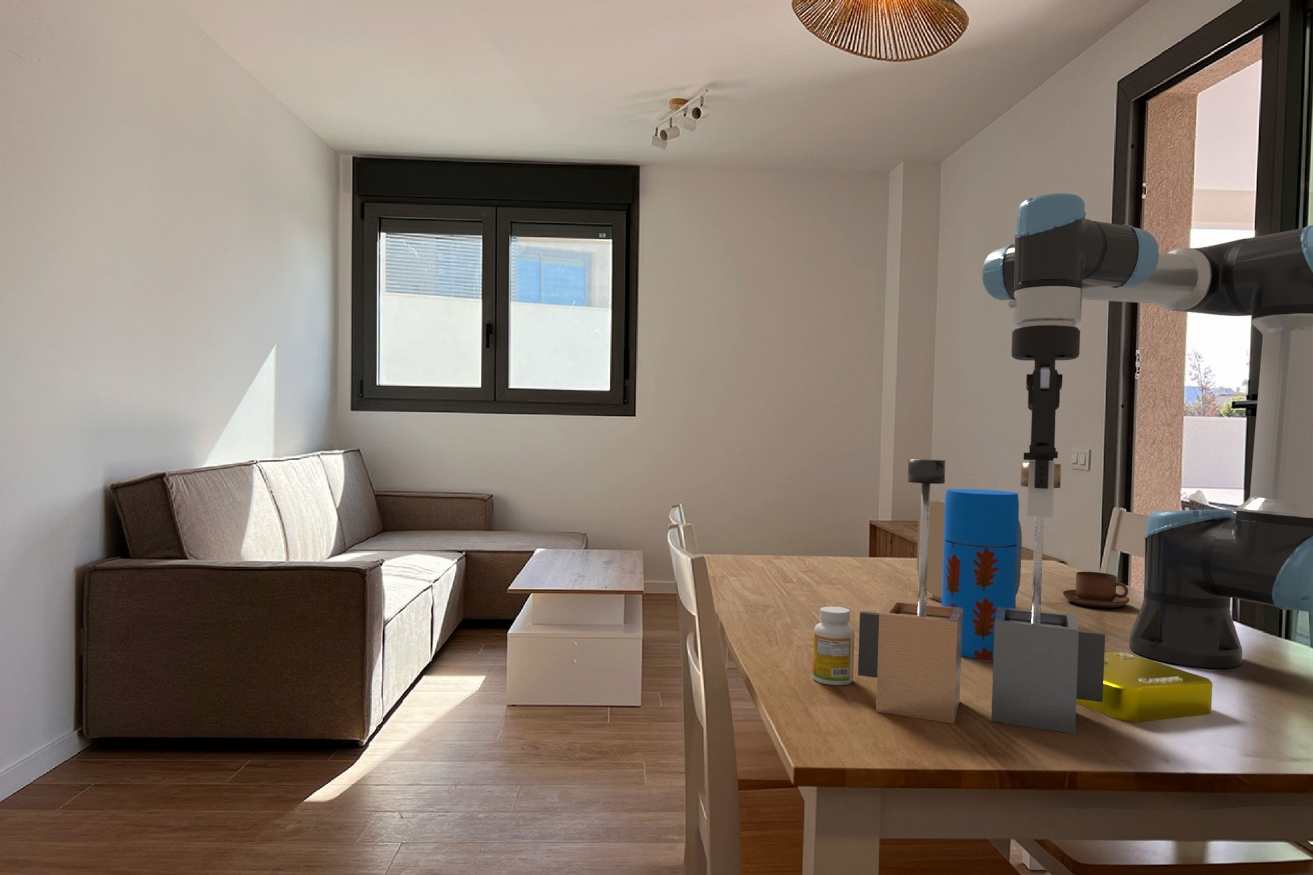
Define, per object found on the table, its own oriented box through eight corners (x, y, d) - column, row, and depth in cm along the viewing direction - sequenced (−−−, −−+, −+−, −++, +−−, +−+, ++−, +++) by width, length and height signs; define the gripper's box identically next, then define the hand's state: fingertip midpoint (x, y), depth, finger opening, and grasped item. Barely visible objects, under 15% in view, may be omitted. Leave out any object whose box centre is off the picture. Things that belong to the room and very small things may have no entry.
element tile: (1126, 725, 103) (1128, 686, 103) (1034, 688, 117) (1036, 653, 117) (1219, 715, 108) (1220, 677, 108) (1120, 680, 122) (1121, 646, 122)
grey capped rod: (948, 624, 109) (954, 460, 108) (944, 634, 103) (950, 461, 103) (899, 619, 111) (905, 458, 111) (893, 628, 106) (898, 459, 105)
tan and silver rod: (1061, 631, 106) (1067, 463, 106) (1063, 642, 101) (1069, 465, 100) (1009, 626, 109) (1014, 461, 108) (1008, 636, 103) (1013, 463, 103)
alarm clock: (1020, 614, 163) (1024, 500, 162) (977, 616, 160) (981, 500, 160) (955, 592, 182) (959, 491, 182) (915, 594, 180) (919, 491, 179)
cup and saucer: (1130, 604, 176) (1131, 574, 176) (1126, 614, 166) (1128, 582, 166) (1066, 596, 183) (1067, 567, 183) (1058, 605, 173) (1059, 575, 172)
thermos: (1020, 661, 129) (1025, 495, 129) (945, 656, 131) (950, 492, 131) (1005, 643, 140) (1011, 490, 139) (936, 638, 142) (941, 487, 142)
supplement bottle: (824, 671, 121) (826, 603, 121) (859, 679, 118) (862, 609, 118) (805, 680, 117) (807, 609, 117) (841, 688, 114) (843, 615, 114)
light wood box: (959, 701, 110) (962, 607, 110) (953, 723, 101) (957, 622, 101) (864, 687, 115) (867, 597, 114) (851, 707, 106) (854, 610, 106)
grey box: (1098, 714, 106) (1102, 617, 106) (1104, 738, 98) (1108, 633, 98) (994, 699, 111) (997, 606, 111) (991, 721, 103) (994, 620, 102)
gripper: (1013, 336, 115) (1008, 504, 116) (1010, 316, 96) (1003, 519, 96) (1076, 335, 112) (1069, 507, 113) (1085, 314, 93) (1078, 524, 93)
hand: (1039, 512), depth 105 cm, fingers open, 9 cm apart
